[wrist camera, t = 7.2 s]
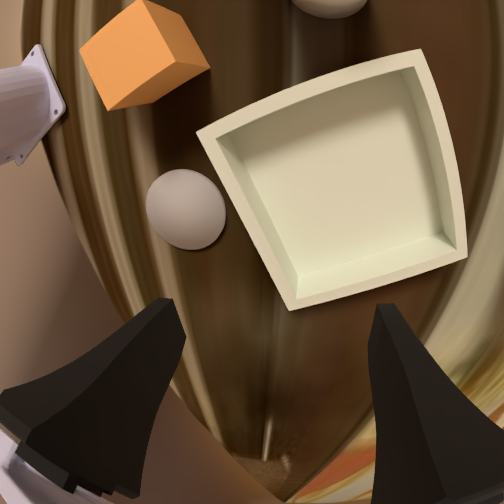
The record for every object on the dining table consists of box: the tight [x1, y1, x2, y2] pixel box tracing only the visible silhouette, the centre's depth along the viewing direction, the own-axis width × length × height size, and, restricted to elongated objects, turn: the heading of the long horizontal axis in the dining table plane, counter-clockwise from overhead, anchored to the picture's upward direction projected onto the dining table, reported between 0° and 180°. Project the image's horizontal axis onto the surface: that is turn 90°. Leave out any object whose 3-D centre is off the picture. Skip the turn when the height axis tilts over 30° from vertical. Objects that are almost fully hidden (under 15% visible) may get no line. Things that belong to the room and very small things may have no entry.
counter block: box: [79, 0, 210, 111], centre depth 12 cm, size 4×4×5 cm
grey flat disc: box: [146, 169, 226, 250], centre depth 20 cm, size 6×6×1 cm
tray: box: [196, 49, 467, 311], centre depth 15 cm, size 13×13×3 cm
